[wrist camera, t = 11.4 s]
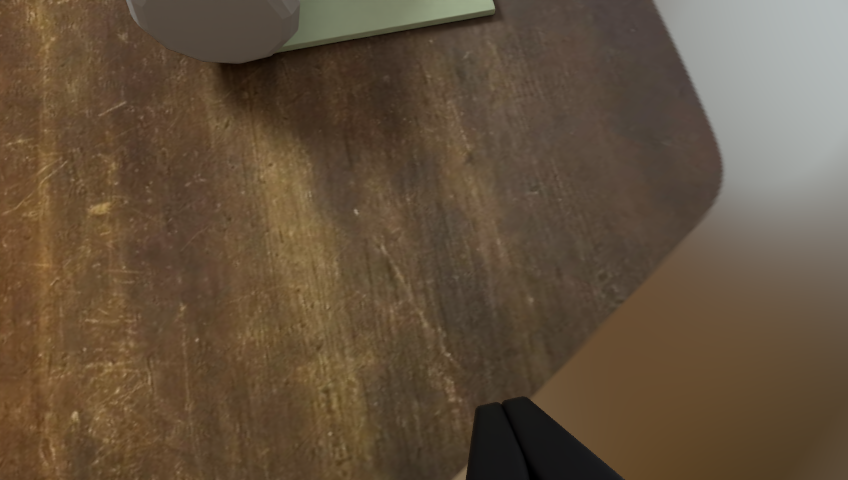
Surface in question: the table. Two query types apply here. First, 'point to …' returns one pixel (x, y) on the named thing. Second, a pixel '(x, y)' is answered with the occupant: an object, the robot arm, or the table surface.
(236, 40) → the water bottle
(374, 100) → the table surface
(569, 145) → the table surface
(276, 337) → the table surface
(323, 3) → the mat
